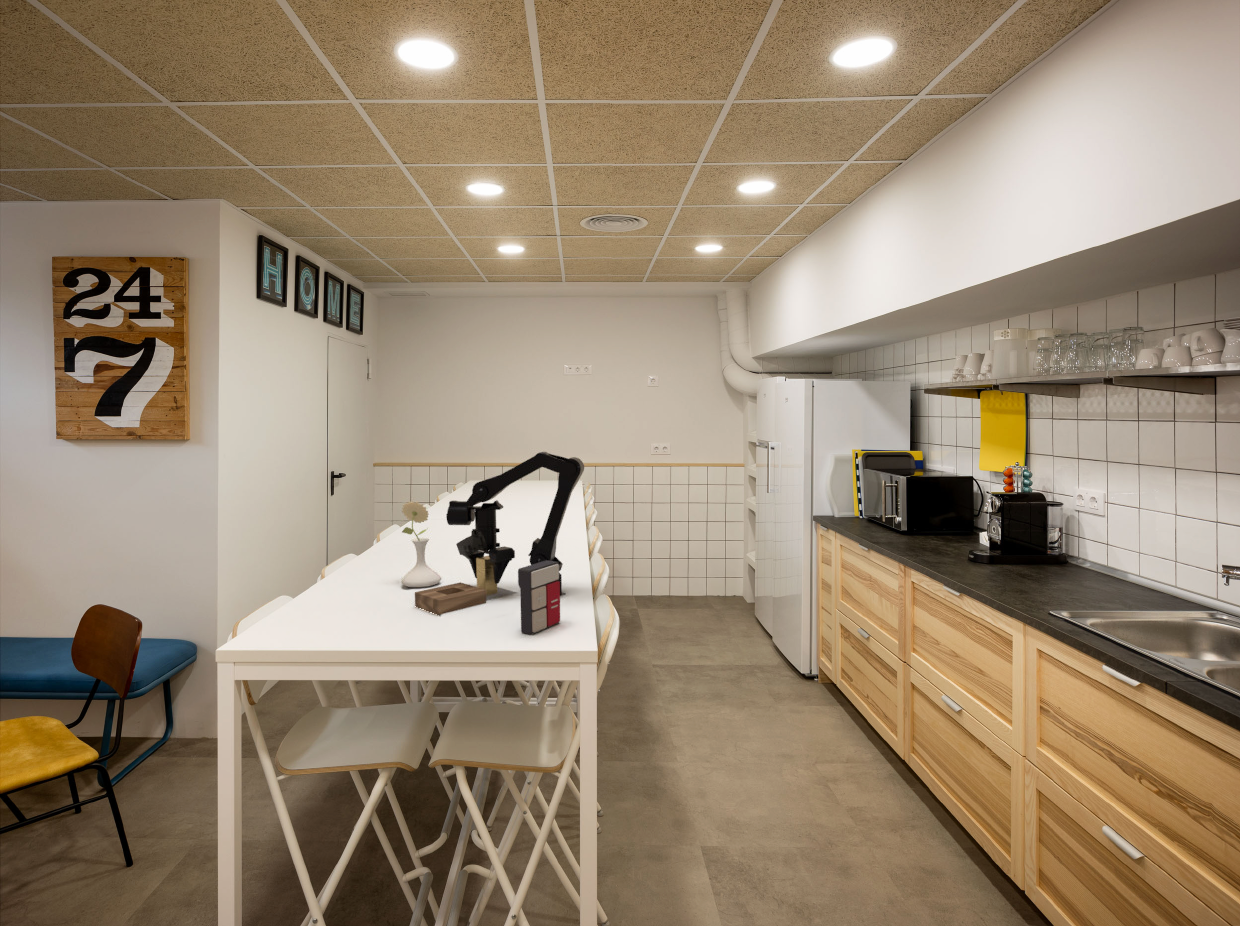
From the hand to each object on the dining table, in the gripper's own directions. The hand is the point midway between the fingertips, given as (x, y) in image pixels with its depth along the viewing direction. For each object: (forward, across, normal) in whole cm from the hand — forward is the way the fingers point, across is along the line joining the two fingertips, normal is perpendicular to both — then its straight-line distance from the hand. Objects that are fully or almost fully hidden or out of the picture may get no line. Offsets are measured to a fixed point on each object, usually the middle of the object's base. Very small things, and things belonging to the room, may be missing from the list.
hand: (487, 580), depth 191 cm
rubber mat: (+4, 0, 0) cm, 4 cm away
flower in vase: (+4, -24, -7) cm, 25 cm away
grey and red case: (+4, +34, -9) cm, 35 cm away
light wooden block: (+4, 0, 0) cm, 4 cm away
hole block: (+4, +2, -13) cm, 14 cm away
